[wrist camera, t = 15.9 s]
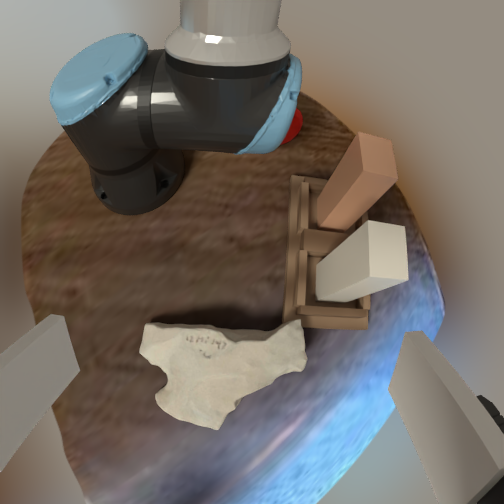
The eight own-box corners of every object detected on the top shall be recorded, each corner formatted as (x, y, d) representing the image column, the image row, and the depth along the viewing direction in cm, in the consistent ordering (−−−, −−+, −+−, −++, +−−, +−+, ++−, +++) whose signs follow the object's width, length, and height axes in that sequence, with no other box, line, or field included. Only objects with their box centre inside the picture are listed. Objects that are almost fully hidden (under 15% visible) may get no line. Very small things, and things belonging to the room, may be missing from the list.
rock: (296, 423, 35) (305, 318, 38) (301, 436, 30) (312, 320, 33) (144, 409, 35) (147, 307, 38) (132, 419, 31) (134, 306, 33)
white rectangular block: (314, 301, 38) (369, 276, 23) (316, 264, 39) (367, 220, 24) (342, 303, 38) (408, 280, 23) (343, 267, 40) (404, 226, 24)
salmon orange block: (317, 229, 41) (363, 171, 26) (317, 198, 42) (358, 131, 27) (343, 233, 41) (398, 179, 26) (342, 202, 43) (391, 140, 27)
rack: (362, 329, 39) (375, 328, 35) (281, 325, 38) (287, 324, 34) (360, 191, 45) (370, 179, 41) (289, 179, 45) (295, 166, 41)
